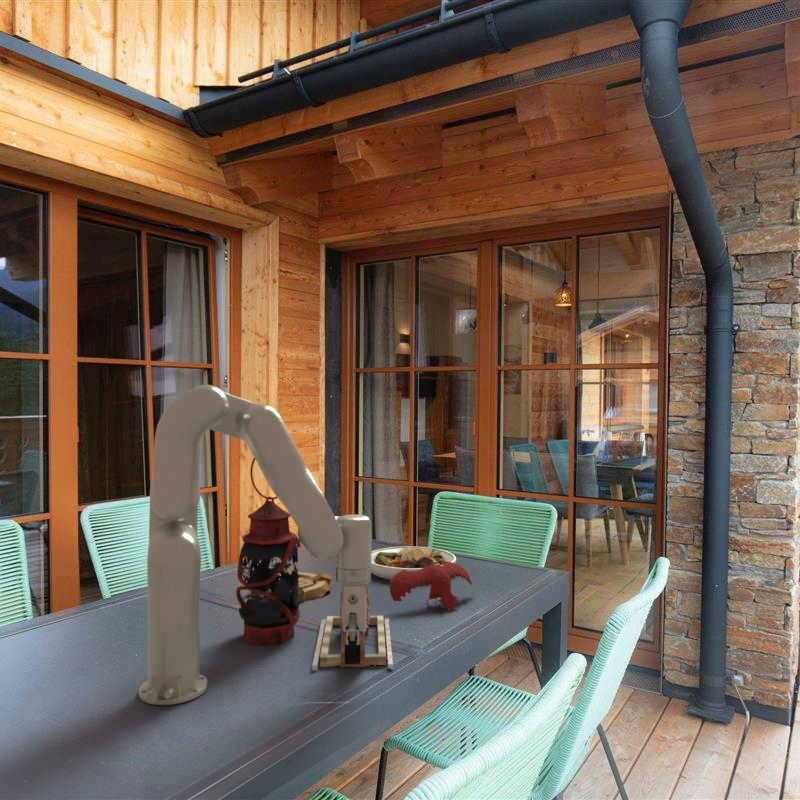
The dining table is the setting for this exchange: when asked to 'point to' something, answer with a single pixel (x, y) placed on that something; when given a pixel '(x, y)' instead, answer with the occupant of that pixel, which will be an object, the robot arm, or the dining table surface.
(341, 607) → the soda can
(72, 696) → the dining table surface
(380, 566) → the bowl
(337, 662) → the pull frame
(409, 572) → the decorative bird sculpture
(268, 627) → the lantern
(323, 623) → the guide rails
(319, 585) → the ashtray
